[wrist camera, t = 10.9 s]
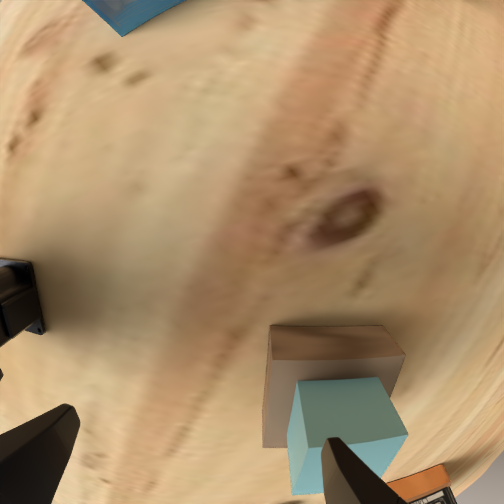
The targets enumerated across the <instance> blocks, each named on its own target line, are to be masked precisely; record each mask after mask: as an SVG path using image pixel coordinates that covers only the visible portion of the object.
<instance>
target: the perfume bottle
mask: <svg viewBox="0 0 504 504" xmlns="http://www.w3.org/2000/svg"><path fill="white" fill-rule="evenodd" d="M82 1H84V2H85V3H86V4H87V5H88V6H89V7H90V8H91V9H93V10H94V11H95V12H96V13H97V14H98V15H99V16H100V17H101V18H102V19H103V20H105V21H106V22H107V23H108V24H109V25H110V26H111V27H112V28H113V29H114V30H115V31H116V32H117V33H118V34H119V35H120V36H121V37H123V36H124V35H126V34H127V33H129V32H130V31H132V30H133V29H135V28H137V27H138V26H140V25H141V24H143V23H145V22H146V21H148V20H150V19H151V18H153V17H155V16H157V15H159V14H160V13H162V12H164V11H166V10H168V9H170V8H171V7H173V6H175V5H177V4H179V3H181V2H183V1H185V0H82Z"/></svg>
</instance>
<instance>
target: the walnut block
mask: <svg viewBox="0 0 504 504" xmlns="http://www.w3.org/2000/svg"><path fill="white" fill-rule="evenodd" d="M404 358H405V354H404V352H403V351H402V350H401V349H400V347H399V346H398V345H397V343H396V342H395V341H394V340H393V338H392V337H391V336H390V334H389V333H388V332H387V331H386V329H385V328H384V327H383V326H382V325H379V326H330V327H320V326H270V331H269V343H268V355H267V366H266V378H265V388H264V399H263V409H262V431H263V448H288V444H287V431H288V426H289V421H290V416H291V411H292V406H293V401H294V395H295V390H296V384H297V381H319V380H343V379H359V378H371V377H378V378H379V380H380V381H381V383H382V385H383V387H384V389H385V390H386V392H387V394H388V396H389V398H390V396H391V394H392V391H393V389H394V386H395V383H396V381H397V378H398V375H399V373H400V370H401V367H402V364H403V361H404Z"/></svg>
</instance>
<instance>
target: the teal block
mask: <svg viewBox="0 0 504 504" xmlns="http://www.w3.org/2000/svg"><path fill="white" fill-rule="evenodd" d="M407 436H408V432H407V430H406V428H405V426H404V424H403V422H402V420H401V419H400V417H399V415H398V413H397V411H396V409H395V407H394V405H393V403H392V402H391V400H390V398H389V396H388V394H387V392H386V390H385V389H384V387H383V385H382V383H381V381H380V380H379V378H378V377H371V378H359V379H343V380H319V381H297V384H296V390H295V395H294V401H293V406H292V411H291V416H290V421H289V426H288V431H287V444H288V455H289V467H290V478H291V490H292V495H304V494H316V493H324V489H323V477H322V465H321V451H322V448H323V446H324V443H325V440H326V439H327V438H329V437H339V438H340V439H341V440H342V441H343V442H344V443H345V444H346V445H347V446H348V447H349V448H350V449H351V450H352V451H353V452H354V453H355V454H356V455H357V456H358V457H359V458H360V459H361V460H362V461H363V462H364V463H365V464H366V465H367V466H368V467H369V468H370V469H371V470H372V471H373V472H374V473H376V474H377V475H378V476H379V477H380V478H381V477H382V475H383V474H384V472H385V471H386V469H387V468H388V466H389V465H390V463H391V462H392V460H393V459H394V457H395V456H396V454H397V453H398V451H399V449H400V448H401V446H402V444H403V443H404V441H405V439H406V438H407Z"/></svg>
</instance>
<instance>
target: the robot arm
mask: <svg viewBox="0 0 504 504" xmlns="http://www.w3.org/2000/svg"><path fill="white" fill-rule="evenodd" d="M27 267H28V268H27ZM24 330H25V331H28V332H32V333H35V334H38V335H43V334H44V333H45V332H46V330H45V326H44V322H43V318H42V313H41V309H40V304H39V300H38V295H37V290H36V284H35V278H34V272H33V266H32V264H31V263H30V262H28V261H19V260H11V259H2V258H0V347H2V346H3V345H4V344H5V343H7V342H8V341H9V340H11V339H13V338H15V337H16V336H17V335H18V334H20V333H21V332H22V331H24ZM2 377H3V373H2V370H1V369H0V380H1V379H2ZM79 428H80V419H79V417H78V415H77V412H76V410H75V408H74V407H73V406H71V405H69V404H62V405H60V406H58V407H56V408H54V409H52V410H50V411H48V412H46V413H44V414H42V415H40V416H38V417H36V418H34V419H32V420H30V421H28V422H26V423H24V424H22V425H20V426H18V427H16V428H14V429H11V430H9V431H7V432H5V433H3V434H1V435H0V504H51V503H52V500H53V498H54V495H55V492H56V490H57V487H58V485H59V482H60V480H61V477H62V475H63V473H64V470H65V468H66V466H67V463H68V461H69V459H70V456H71V453H72V450H73V447H74V443H75V440H76V437H77V434H78V431H79ZM321 465H322V477H323V489H324V496H325V500H326V504H408V503H407V502H406V501H405V500H404V499H403V498H401V497H400V496H399V495H398V494H397V493H396V492H395V491H394V490H393V489H391V488H390V487H389V486H388V485H387V484H386V483H385V482H384V481H383V480H382V479H381V478H380V477H379V476H378V475H377V474H376V473H374V472H373V471H372V470H371V469H370V468H369V467H368V466H367V465H366V464H365V463H364V462H363V461H362V460H361V459H360V458H359V457H358V456H357V455H356V454H355V453H354V452H353V451H352V450H351V449H350V448H349V447H348V446H347V445H346V444H345V443H344V442H343V441H342V440H341V439H340V438H339V437H329V438H327V439H326V440H325V443H324V446H323V448H322V451H321Z"/></svg>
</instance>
